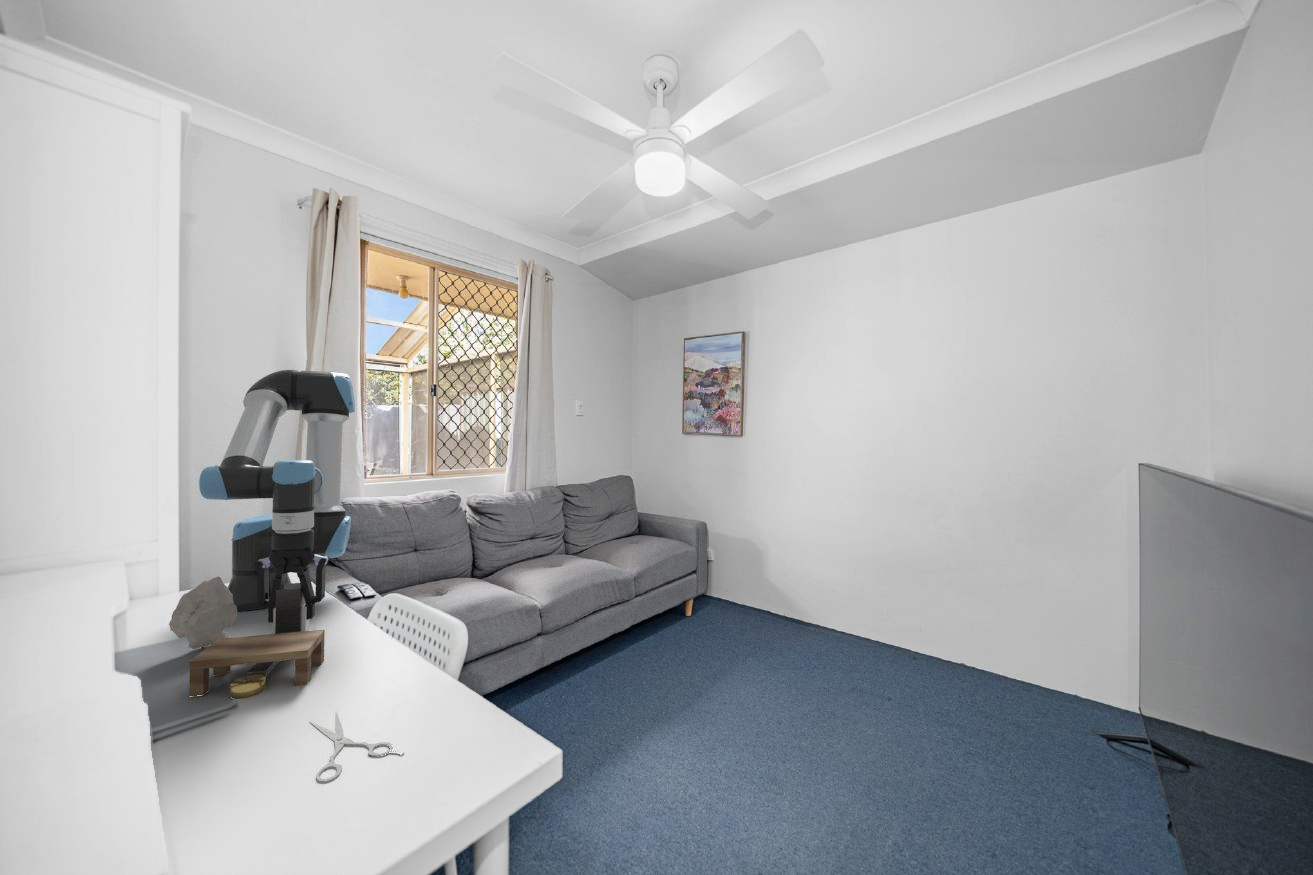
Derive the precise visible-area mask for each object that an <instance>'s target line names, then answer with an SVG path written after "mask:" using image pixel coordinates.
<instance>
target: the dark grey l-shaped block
mask: <svg viewBox="0 0 1313 875" xmlns="http://www.w3.org/2000/svg"><path fill="white" fill-rule="evenodd" d="M304 604H305V599H304V595H303V592H302V587H301V584H300V582H294V583H293V582H291V583H290V584H284V585H283V586H282V587H280V588H279V589H277V590H276V622H275V634H279V633H290V632H301V622H302V606H303V605H304ZM280 662H281V661H274V662H264V663H254V665H252V667H251V668H250V669H249V670H248V671H247V672H246V676H249V675H255V674H261V675H264V676H265V678H266V677H267V676H269V674H270V673H271V672H272V671H273V669H274V668H275V667H276V666H277V665H278V664H279V663H280Z"/></svg>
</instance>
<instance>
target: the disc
mask: <svg viewBox="0 0 1313 875" xmlns="http://www.w3.org/2000/svg"><path fill="white" fill-rule="evenodd" d="M229 688H230V689H229V696H231V697H232V698H234V699H233V700H244V699H248V698H252V697H255V696H257V695H260V694H261V693H262V692H264V691H265V690H266V677H265V676H264V675H261V674H255V675H249V676H247V675H245V676H242V677H240V678H237V679H235V680H233V681H232V682H231V683H230V685H229ZM231 697H230V698H231ZM232 698H231V699H232Z"/></svg>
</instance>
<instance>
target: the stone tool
mask: <svg viewBox="0 0 1313 875" xmlns="http://www.w3.org/2000/svg"><path fill="white" fill-rule="evenodd" d="M233 604H234V602H233V594H232V593H231V592H230V590H229V589H228V585H227V586H226V585H225V583H224V582H223V580H222V578H221V576H216V577H213V578H211V579H209V580H203V581H202V582H201V583H200V584H198V585H197V586H196V587H195V588H192V589H191V590H189V591H188V592H185V593H184V594H182V596H181V597H180V599H179V600H178V602H177V605H176V607H175V609H174V610H173V612H172V614H171V619H170V621H169V623H168V625H169V629H170V631H171V632H173V633H174V634H175V637H177V638H179V639H180V638H181V639H182V638H185V639H187V640H188V642H189V643H188V648H189V649H191V650H197V649H199V648H200V647H205V648H207V647H209V646H210V645H211V644H213V643H214V642H215V641H216V640H218V639H220V638H227V634H226V633H225V632H224V631H223V629H224V628H226V627H229V626H231V625H233V624H234V623H235V622H236V620H237V618H238V611H237V607H236V605H233Z"/></svg>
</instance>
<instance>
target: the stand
mask: <svg viewBox="0 0 1313 875" xmlns="http://www.w3.org/2000/svg"><path fill="white" fill-rule="evenodd" d="M291 660H295V662H294V664H295V665H294V667H295V668H294V686H295V687H296V686H303V685H308V684H309V682H310V681H311V680H312V666H313V667H314V666H321V665H322V664H323V663H324V662H325V629H318V630H317V629H316V630H315V629H314V630H309V631H302V632H290V633H279V634H273V633H270V634H269V633H268V634H257V635H245V636H244V635H243V636H233V637H225V638H220V639H218V640H216V641H215V642H214V643H213V644H211V645H209V646H207V647H205V649H204V650H203V651H201V652H200V653H199V654H197V655H196V656H195V657H193V658H192V659H191V660H190V661H189V675H188V676H189V678H188V679H189V682H188V683H189V684H188V685H189V686H188V687H189V688H188V692H189V693H188V697H189V696H197V695H203V694H205V693H206V692H207V691H208V690H209V691H210V669H212V676H213V675H220V676H226V675H227V674H228V673H229V672H230V671H232V670H231V668H232V667H233V666H242V665H249V664H250V665H253V664H254V665H255V664H256V663H264V662H274V661H280V662H281V661H291ZM209 691H208V692H209ZM208 692H207V693H208ZM207 693H206V694H207ZM206 694H205V695H206Z"/></svg>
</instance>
